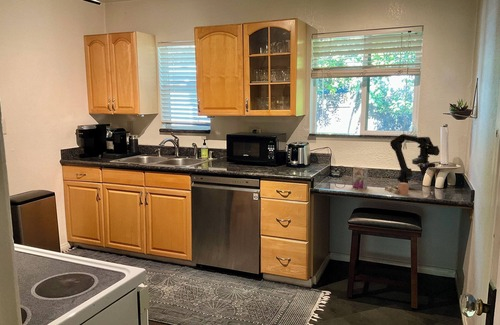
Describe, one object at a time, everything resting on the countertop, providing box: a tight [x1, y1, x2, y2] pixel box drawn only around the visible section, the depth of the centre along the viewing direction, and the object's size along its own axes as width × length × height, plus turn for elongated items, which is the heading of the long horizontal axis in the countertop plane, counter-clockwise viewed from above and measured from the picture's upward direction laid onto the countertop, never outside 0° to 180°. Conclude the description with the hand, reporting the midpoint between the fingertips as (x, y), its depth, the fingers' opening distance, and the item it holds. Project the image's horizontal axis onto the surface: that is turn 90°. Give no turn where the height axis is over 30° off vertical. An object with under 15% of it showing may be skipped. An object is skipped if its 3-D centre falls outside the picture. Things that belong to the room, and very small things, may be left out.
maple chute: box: [384, 184, 400, 195], centre depth 296 cm, size 16×8×4 cm, turn 14°
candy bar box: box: [352, 166, 369, 190], centre depth 311 cm, size 11×5×16 cm, turn 31°
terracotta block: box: [397, 182, 410, 196], centre depth 287 cm, size 5×5×8 cm
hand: (422, 175), depth 295 cm, fingers closed
